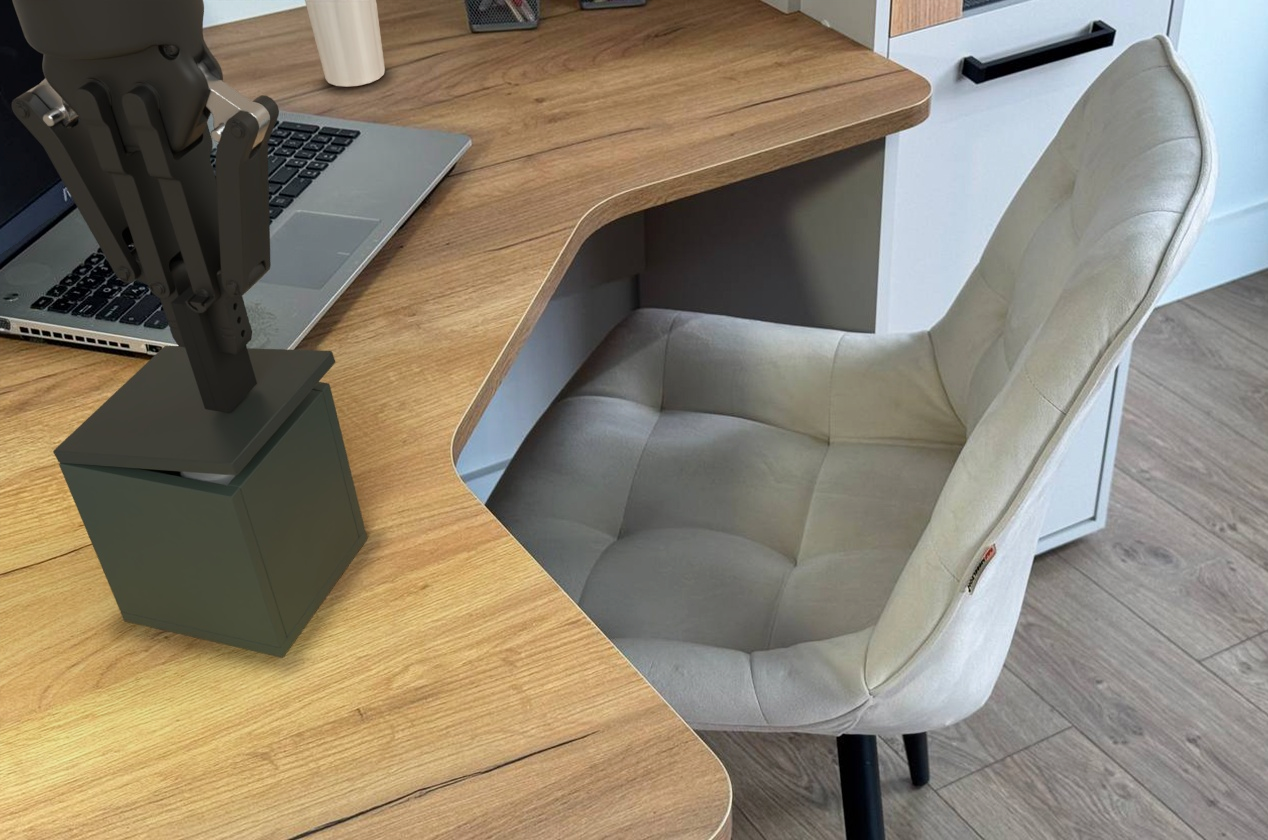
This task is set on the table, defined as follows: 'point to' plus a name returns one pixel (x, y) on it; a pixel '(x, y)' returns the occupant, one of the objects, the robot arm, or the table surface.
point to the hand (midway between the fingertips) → (231, 395)
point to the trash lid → (193, 415)
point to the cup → (347, 40)
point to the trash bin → (230, 535)
